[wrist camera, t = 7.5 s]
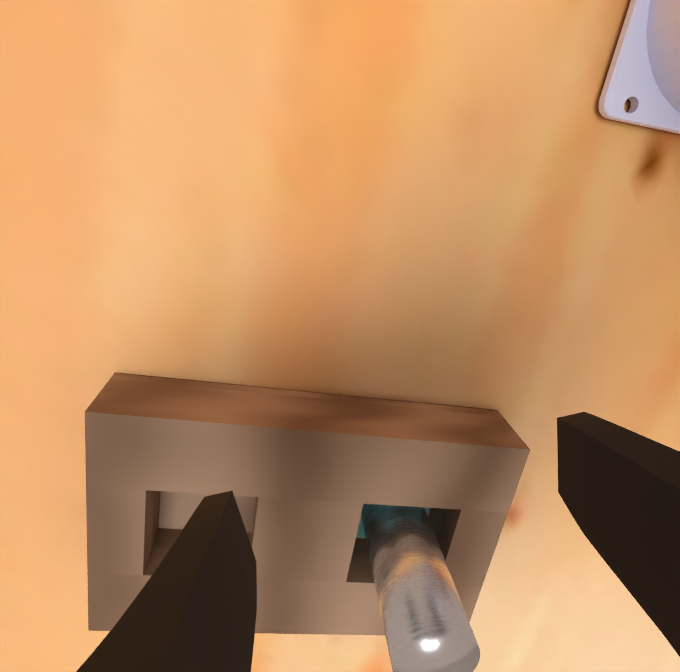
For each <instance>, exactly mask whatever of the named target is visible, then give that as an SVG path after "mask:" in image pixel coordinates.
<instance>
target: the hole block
mask: <svg viewBox="0 0 680 672" xmlns="http://www.w3.org/2000/svg"><path fill="white" fill-rule="evenodd" d="M85 444H86V504H87V564H88V624H89V630H93V631H111V630H112V628H113V627H114V626H115V625H116V623H117V622H118V621H119V619H120V618H121V617H122V615H123V614H124V613H125V611H126V610H127V609H128V607H129V606H130V605H131V603H132V602H133V601H134V599H135V598H136V597H137V595H138V594H139V592H140V591H141V590H142V588H143V587H144V586H145V584H146V583H147V581H148V580H149V579H150V577H151V576H152V574H153V573H154V571H155V570H156V568H157V567H158V565H159V564H160V562H161V561H162V560H163V558H164V557H165V555H166V554H167V552H168V551H169V549H170V548H171V546H172V545H173V543H174V542H175V540H176V539H177V537H178V536H179V534H180V533H181V531H182V530H183V528H184V526H185V525H186V523H187V522H188V520H189V519H190V517H191V516H192V514H193V513H194V511H195V510H196V508H197V507H198V505H199V504H200V502H201V501H202V499H203V498H204V497H205V496H210V495H214V494H219V493H223V492H228V491H233V494H234V497H235V500H236V503H237V506H238V509H239V512H240V514H241V517H242V520H243V523H244V526H245V529H246V532H247V535H248V538H249V541H250V544H251V547H252V550H253V553H254V556H255V559H256V569H257V613H256V624H255V633H279V634H340V635H385V631H384V626H383V621H382V616H381V611H380V606H379V602H378V597H377V592H376V587H375V582H374V577H373V573H372V568H371V563H370V558H369V553H368V548H367V544H366V539H365V534H364V529H363V524H362V519H361V513H362V508H363V504H377V505H393V506H410V507H424V508H425V510H426V513H427V515H428V518H429V520H430V523H431V526H432V528H433V531H434V533H435V536H436V538H437V541H438V544H439V546H440V549H441V551H442V554H443V556H444V559H445V562H446V564H447V567H448V569H449V572H450V575H451V577H452V580H453V582H454V585H455V587H456V590H457V593H458V595H459V598H460V600H461V603H462V605H463V608H464V611H465V613H466V616H467V618H468V621H470V619H471V616H472V613H473V610H474V607H475V604H476V602H477V599H478V596H479V593H480V590H481V587H482V585H483V582H484V579H485V576H486V573H487V570H488V568H489V565H490V562H491V559H492V556H493V553H494V550H495V548H496V545H497V542H498V539H499V536H500V533H501V531H502V528H503V525H504V522H505V519H506V516H507V514H508V511H509V508H510V505H511V502H512V499H513V497H514V494H515V491H516V488H517V485H518V482H519V480H520V477H521V474H522V471H523V468H524V465H525V462H526V460H527V457H528V454H529V451H530V449H529V448H528V447H527V445H526V444H525V443H524V442H523V441H522V439H521V438H520V437H519V436H518V435H517V433H516V432H515V431H514V430H513V429H512V427H511V426H510V425H509V424H508V423H507V421H506V420H505V419H504V418H503V417H502V415H501V414H500V413H499V412H498V411H497V410H487V409H477V408H467V407H457V406H447V405H437V404H426V403H416V402H406V401H396V400H386V399H376V398H365V397H355V396H345V395H335V394H325V393H314V392H304V391H294V390H284V389H274V388H264V387H253V386H243V385H233V384H223V383H213V382H203V381H192V380H182V379H172V378H162V377H152V376H142V375H131V374H121V373H114V375H113V376H112V377H111V379H110V380H109V381H108V382H107V384H106V385H105V386H104V388H103V389H102V390H101V392H100V393H99V394H98V395H97V397H96V398H95V399H94V401H93V402H92V403H91V405H90V406H89V407H88V408H87V410H86V411H85Z"/></svg>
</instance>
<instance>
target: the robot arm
mask: <svg viewBox="0 0 680 672" xmlns="http://www.w3.org/2000/svg"><path fill="white" fill-rule="evenodd" d="M627 99H629V100H630V102H631V107H630V109H629V111H628V112H625V109H624V103H625V102H626V100H627ZM598 108H599V112H600V114H601V115H602V116H603V117H605V118H607V119H611V120H616V121H620V122H625V123H630V124H634V125H639V126H644V127H649V128H653V129H658V130H663V131H667V132H672V133H677V134H680V0H631V2H630V5H629V8H628V11H627V15H626V18H625V21H624V24H623V27H622V30H621V34H620V37H619V40H618V43H617V46H616V49H615V52H614V56H613V59H612V62H611V65H610V68H609V71H608V74H607V78H606V81H605V84H604V87H603V90H602V93H601V96H600V100H599V105H598ZM557 436H558V492H559V494H560V496H561V497H562V499H563V501H564V502H565V504H566V506H567V508H568V509H569V511H570V513H571V514H572V516H573V518H574V519H575V521H576V522H577V524H578V525H579V527H580V529H581V530H582V532H583V533H584V535H585V536H586V537H587V539H588V540H589V541H590V543H591V544H592V545H593V546H594V548H595V549H596V550H597V552H598V553H599V554H600V555H601V557H602V558H603V559H604V560H605V562H606V563H607V564H608V566H609V567H610V568H611V569H612V571H613V572H614V573H615V574H616V576H617V577H618V578H619V579H620V581H621V582H622V583H623V584H624V586H625V587H626V588H627V589H628V591H629V592H630V593H631V594H632V596H633V597H634V598H635V599H636V601H637V602H638V603H639V604H640V606H641V607H642V608H643V609H644V611H645V612H646V613H647V615H648V616H649V617H650V618H651V620H652V621H653V622H654V623H655V625H656V626H657V627H658V628H659V630H660V631H661V632H662V633H663V635H664V636H665V637H666V639H667V640H668V642H669V643H670V644H671V646H672V647H673V648H674V650H675V651H676V652H677V654H678V655H679V656H680V452H679V451H677V450H674V449H672V448H670V447H667V446H665V445H663V444H660V443H658V442H655V441H653V440H651V439H648V438H646V437H644V436H642V435H639V434H637V433H635V432H632V431H630V430H628V429H625V428H623V427H621V426H618V425H616V424H614V423H611V422H609V421H606V420H604V419H602V418H599V417H597V416H594V415H591V414H589V413H586V412H582V413H577V414H573V415H568V416H564V417H559V418H557ZM256 613H257V569H256V559H255V556H254V553H253V550H252V547H251V544H250V541H249V538H248V535H247V532H246V529H245V526H244V523H243V520H242V517H241V514H240V512H239V509H238V506H237V503H236V500H235V497H234V494H233V491H228V492H223V493H219V494H214V495H210V496H205V497H204V498H203V499H202V501H201V502H200V504H199V505H198V507H197V508H196V510H195V511H194V513H193V514H192V516H191V517H190V519H189V520H188V522H187V523H186V525H185V526H184V528H183V530H182V531H181V533H180V534H179V536H178V537H177V539H176V540H175V542H174V543H173V545H172V546H171V548H170V549H169V551H168V552H167V554H166V555H165V557H164V558H163V560H162V561H161V562H160V564H159V565H158V567H157V568H156V570H155V571H154V573H153V574H152V576H151V577H150V579H149V580H148V581H147V583H146V584H145V586H144V587H143V588H142V590H141V591H140V592H139V594H138V595H137V597H136V598H135V599H134V601H133V602H132V603H131V605H130V606H129V607H128V609H127V610H126V611H125V613H124V614H123V615H122V617H121V618H120V619H119V621H118V622H117V623H116V625H115V626H114V627H113V628H112V630H111V631H110V632H109V633H108V635H107V636H106V637H105V638H104V640H103V641H102V642H101V643H100V645H99V646H98V647H97V648H96V649H95V651H94V652H93V653H92V654H91V655H90V656H89V658H88V659H87V660H86V661H85V662H84V663H83V665H82V666H81V667H80V668H79V669H78V670H77V672H251V663H252V654H253V644H254V634H255V624H256Z"/></svg>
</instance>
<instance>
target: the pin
mask: <svg viewBox="0 0 680 672" xmlns="http://www.w3.org/2000/svg"><path fill="white" fill-rule="evenodd" d="M361 519H362V524H363V529H364V534H365V539H366V544H367V548H368V553H369V558H370V563H371V568H372V573H373V577H374V582H375V587H376V592H377V597H378V602H379V606H380V611H381V616H382V621H383V626H384V631H385V636H386V640H387V645H388V650H389V655H390V660H391V665H392V669H393V672H473V671H474V669H475V668H476V666H477V664H478V662H479V658H480V650H479V647H478V644H477V641H476V639H475V636H474V634H473V631H472V629H471V626H470V623H469V621H468V618H467V616H466V613H465V611H464V608H463V605H462V603H461V600H460V598H459V595H458V593H457V590H456V587H455V585H454V582H453V580H452V577H451V575H450V572H449V569H448V567H447V564H446V562H445V559H444V556H443V554H442V551H441V549H440V546H439V544H438V541H437V538H436V536H435V533H434V531H433V528H432V526H431V523H430V520H429V518H428V515H427V513H426V510H425V508H424V507H410V506H393V505H377V504H363V508H362V513H361Z"/></svg>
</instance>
